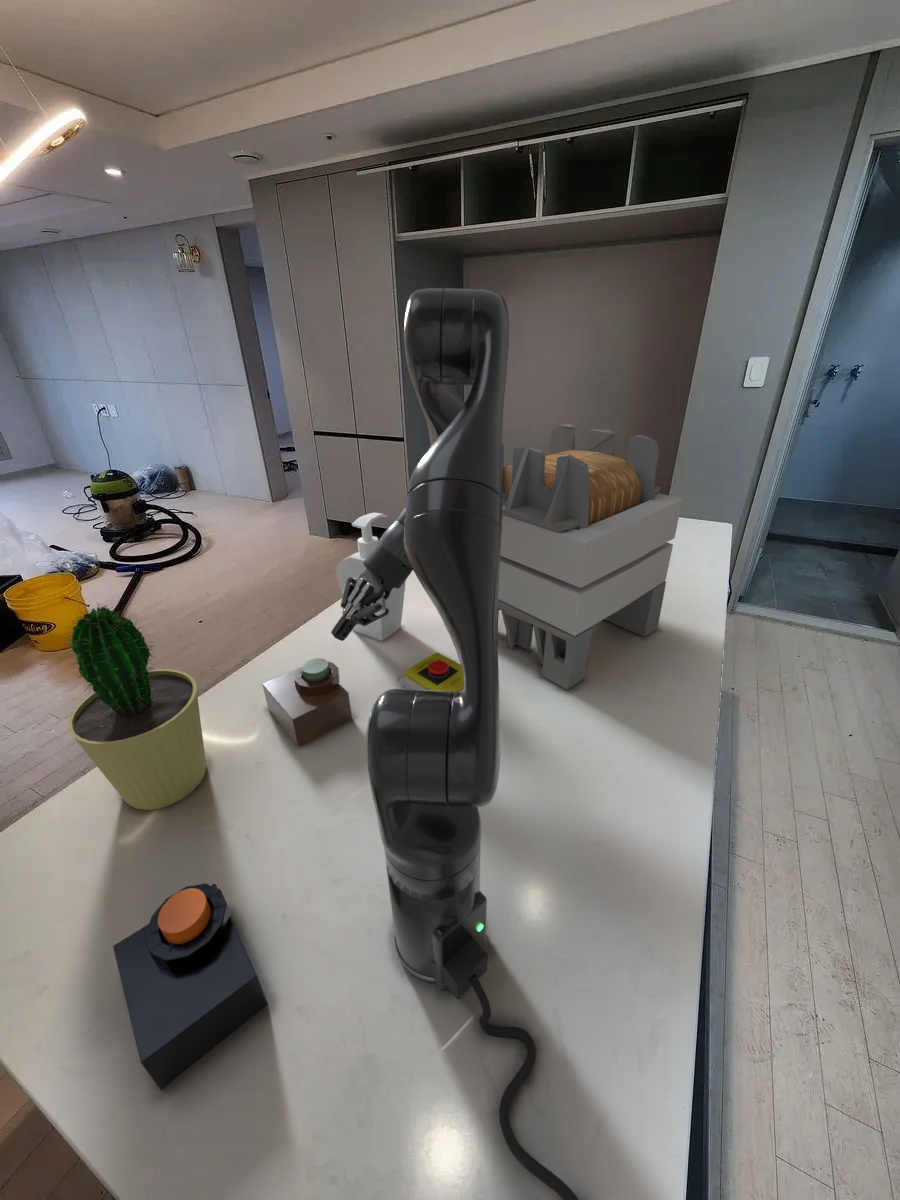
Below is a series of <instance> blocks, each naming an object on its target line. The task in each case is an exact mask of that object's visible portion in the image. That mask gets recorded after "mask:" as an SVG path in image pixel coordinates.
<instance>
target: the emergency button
mask: <svg viewBox="0 0 900 1200" xmlns="http://www.w3.org/2000/svg"><path fill="white" fill-rule="evenodd" d="M399 684H400V685H401V686H402V687H404V689H418V690H443V691H453V692H455V691H462V690H463V688H464V677H463V671H462V667H461V664H460V662H459V663H458V662H457V661H455V660H453V659H451V658H450V657H447V656H446V655H443V654H442V653H440V652H434V653H432V654H430V655H428V656H427V657H425V658H424V659H422V660H420V661H419V662H417V663H415V664H414V665H412V666H410V667H408V668H407V669H406V670H405V671H404V675H403V676H402V677H400V678H399Z"/></svg>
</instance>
